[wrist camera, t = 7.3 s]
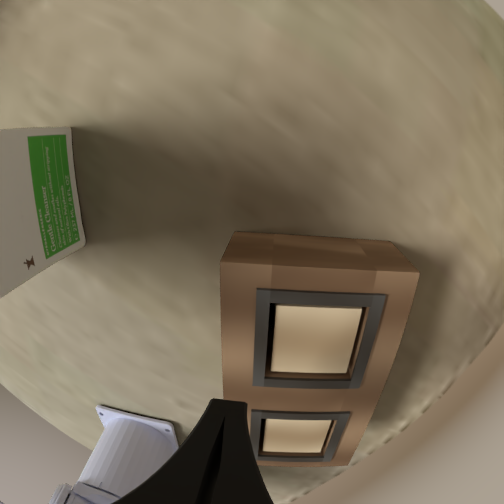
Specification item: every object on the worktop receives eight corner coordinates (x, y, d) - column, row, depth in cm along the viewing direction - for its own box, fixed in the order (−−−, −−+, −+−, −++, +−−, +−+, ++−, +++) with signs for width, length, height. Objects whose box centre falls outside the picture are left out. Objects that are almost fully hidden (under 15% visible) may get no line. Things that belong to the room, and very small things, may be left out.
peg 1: (335, 329, 19) (346, 372, 15) (273, 326, 19) (270, 370, 15) (345, 272, 17) (362, 309, 14) (277, 268, 18) (276, 305, 14)
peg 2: (316, 410, 22) (320, 452, 18) (266, 408, 22) (262, 451, 18) (325, 374, 20) (331, 419, 16) (269, 372, 21) (266, 417, 17)
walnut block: (341, 423, 22) (347, 467, 18) (234, 419, 23) (226, 464, 19) (389, 241, 17) (421, 274, 12) (234, 231, 17) (219, 263, 13)
